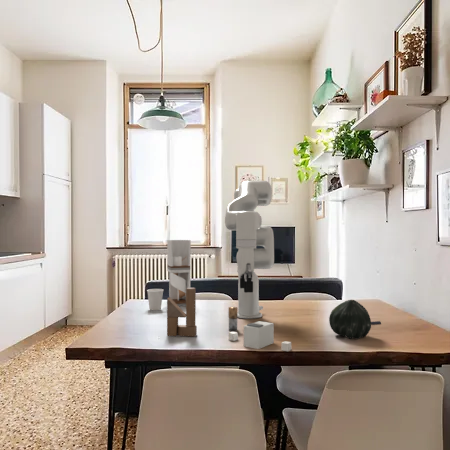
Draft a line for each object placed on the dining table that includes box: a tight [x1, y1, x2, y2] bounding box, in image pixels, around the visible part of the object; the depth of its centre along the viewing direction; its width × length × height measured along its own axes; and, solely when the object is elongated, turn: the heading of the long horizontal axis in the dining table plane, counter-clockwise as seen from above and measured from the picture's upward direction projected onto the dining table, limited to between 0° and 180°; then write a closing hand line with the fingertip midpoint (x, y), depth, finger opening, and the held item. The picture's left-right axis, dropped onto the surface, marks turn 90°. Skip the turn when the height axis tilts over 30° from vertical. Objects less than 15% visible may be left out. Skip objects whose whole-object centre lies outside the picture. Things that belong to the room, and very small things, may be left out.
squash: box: [328, 299, 372, 340], centre depth 157 cm, size 14×15×15 cm
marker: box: [280, 340, 292, 352], centre depth 139 cm, size 2×2×2 cm
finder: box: [243, 321, 275, 350], centre depth 146 cm, size 10×6×7 cm, turn 143°
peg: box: [228, 306, 238, 332], centre depth 167 cm, size 4×4×9 cm
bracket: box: [371, 320, 382, 326], centre depth 185 cm, size 14×15×3 cm
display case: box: [166, 239, 192, 307], centre depth 229 cm, size 11×11×35 cm
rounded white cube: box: [228, 331, 239, 342], centre depth 152 cm, size 2×2×2 cm
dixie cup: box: [146, 288, 164, 312], centre depth 212 cm, size 8×8×10 cm
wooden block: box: [166, 287, 198, 338], centre depth 159 cm, size 4×11×18 cm, turn 83°
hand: (246, 290), depth 156 cm, fingers open, 9 cm apart
